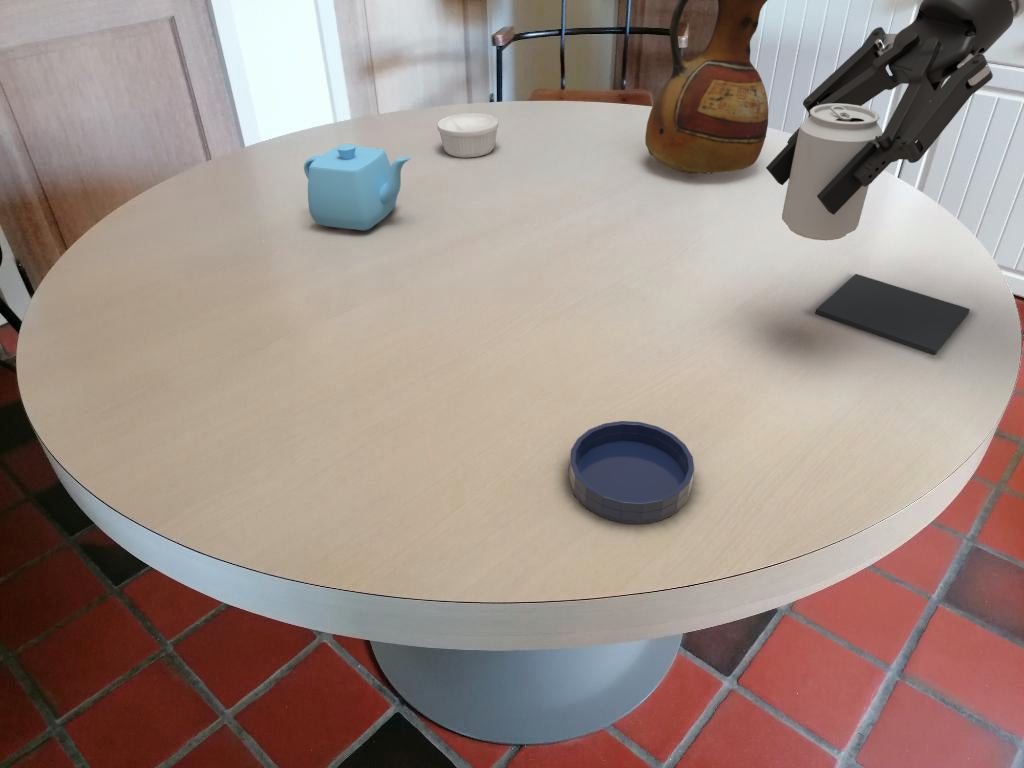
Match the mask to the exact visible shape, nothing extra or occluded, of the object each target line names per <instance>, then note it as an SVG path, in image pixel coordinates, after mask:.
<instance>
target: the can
mask: <svg viewBox="0 0 1024 768" xmlns="http://www.w3.org/2000/svg"><path fill="white" fill-rule="evenodd" d="M810 115H811V116H810V117H809V118H808V117H807V118H806V119H805V120H803V121H802V122H801V123H800V125H799V127H800V128H799V127H798V128H799V133H798V138H797V143H796V148H795V153H794V158H793V163H792V168H791V173H790V178H789V179H788V183H787V188H786V192H785V198H784V203H783V207H782V213H781V220H782V221H783V222H784V223H785V225H787V227H788V229H789V230H790V231H791V232H792V233H794V234H795V235H797V236H800V237H802V238H805V239H809V240H815V241H817V240H818V241H834V240H839V239H840V240H841V239H842V238H844V237H846V236H847V235H848V234H851V233H852V232H854V231H856V230H857V229H858V227H859V223H860V220H861V216H862V213H863V209H864V206H865V201H866V198H867V194H868V191H869V187H870V184H869V185H868V186H866V187H864V186H861V188H860V189H859V190H858V191H857V192H856V193H855V194H854V195H853V196H852V197H851V198H850V199H849V200H848V201H847V202H846V203H845V204H844V205H843V206H842V207H841V208H840V209H839V210H838V211H837V212H836V213H835V214H834V215H833V214H831V213H830V212H828V210H827V209H826V208H825V206H824V205H823V204H822V203H821V201H820V200H819V199H818V197H817V195H818V194H819V193H820V192H821V191H822V190H823V189H824V188H825V187H826V186H827V185H828V184H829V183H830V182H831V181H832V179H833V178H834V177H835V176H836V175H837V174H838V173H839V172H840V171H841V170H842V169H843V168H844V167H845V166H846V165H847V164H848V163H849V162H850V161H851V160H852V159H853V157H854V156H855V155H856V154H857V153H858V152H859V151H861V150H862V148H863V147H864V146H865V145H866V144H867V143H868V142H871V143H874V144H875V145H876V147H877V148H878V147H879V145H878V143H877V141H876V140H875V137H876V136H877V137H878V136H882V134H883V132H884V131H883V130H882V128H881V126H880V125H879V123H878V121H879V120H880V118H881V116H880V114H879V113H878V112H877V111H876V110H875V109H873V108H870V107H867V106H863V105H862V106H858V105H852V104H839V103H835V104H823V105H818V106H815V107H813V108H812V109H811V110H810ZM878 138H879V137H878ZM879 140H880V139H879Z"/></svg>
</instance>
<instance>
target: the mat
mask: <svg viewBox="0 0 1024 768" xmlns="http://www.w3.org/2000/svg"><path fill="white" fill-rule="evenodd" d="M970 311H971V308H970V307H969V308H968V307H964V306H962V305H959V304H956V303H953V302H949V301H945V300H942V299H939V298H936V297H933V296H930V295H927V294H923V293H920V292H917V291H913V290H909V289H906V288H903V287H900V286H896V285H895V284H891V283H887V282H884V281H881V280H878V279H874V278H871V277H867V276H864V275H862V274H857V273H855V274H854V275H852V276H851V278H849V279H848V280H847V281H846V282H845V283H843V285H841V286H840V287H839V288H838V289H837V290H836V291H835V292H834V293H832V294H831V295H830V296H829V297H828V298H826V300H824V301H823V302H822V303H821V304H820V305H819V306H818V307H817V308H816V309H815V312H814V314H816V315H819V316H821V317H825V318H827V319H830V320H833V321H835V322H839V323H841V324H844V325H847V326H850V327H853V328H857V329H859V330H862V331H865V332H867V333H870V334H874V335H876V336H880V337H882V338H886V339H888V340H890V341H894V342H897V343H900V344H902V345H905V346H908V347H911V348H913V349H917V350H919V351H923V352H926V353H928V354H930V355H931V354H932V355H937V353H938V352H939V350H940V349H941V348H942V346H943V345H944V344H945V343H946V342H947V340H948V339H949V338H950V337H951V335H952V334H953V333H954V332H955V331H956V329H957V328H958V327H959V326H960V324H961V323H962V322H963V321H964V320H965V318H966V317H967V316H968V314H969V313H970Z"/></svg>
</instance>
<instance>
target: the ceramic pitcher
mask: <svg viewBox="0 0 1024 768" xmlns="http://www.w3.org/2000/svg"><path fill="white" fill-rule="evenodd" d="M689 1H690V0H678V1H677V2H676V4H675V7H674V10H673V12H672V14H671V19H670V25H669V42H670V51H671V52H670V53H671V61H672V72H671V75H670V77H669V78H668V80H667V81H666V83H665V84H664V86H662V88H661V89H660V91H659V92H658V95H657V96H656V98H655V100H654V102H653V104H652V107H651V109H650V112H649V116H648V119H647V123H646V128H645V136H644V139H645V140H644V141H645V147H646V149H647V151H648V153H649V154H650V156H652V157H653V159H655V160H656V161H657V162H658V163H660V164H661V165H662V166H664V167H667V168H669V169H671V170H672V171H676V172H679V173H682V174H689V175H693V174H694V175H695V174H696V175H697V174H705V175H706V174H711V175H712V174H714V173H727V172H733V171H734V172H735V171H739V170H742V169H746V168H749V167H751V166H753V165H754V164H755V163H756V162H757V160H758V159H759V157H760V155H761V152H762V149H763V147H764V144H765V141H766V137H767V132H768V125H769V101H768V95H767V90H766V87H765V84H764V82H763V80H762V77H761V75H760V73H759V71H757V69H756V68H755V66H754V65H753V63H752V62H751V41H752V38H753V36H754V34H756V31H757V29H758V27H759V20H760V15H761V11H762V9H763V7H764V5H765V4H766V3H767V2H768V0H717V5H718V6H717V7H718V8H717V9H718V10H717V18H716V20H715V21H716V22H715V26H714V29H713V31H712V35H711V38H710V39H709V42H708V43H707V45H706V46H705V48H704V50H703V51H702V52H701V53H700V54H698V55H695V56H693V57H691V58H685V57H683V54H682V53H681V49H680V45H679V35H678V33H679V24H680V21H681V17H682V16H683V13H684V10H685V7H686V5H687V4H688V2H689Z"/></svg>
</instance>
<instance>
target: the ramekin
mask: <svg viewBox="0 0 1024 768" xmlns="http://www.w3.org/2000/svg"><path fill="white" fill-rule="evenodd" d="M498 129H499V120H498V119H497V118H496V117H495V116H493V115H490V114H485V113H476V112H475V113H473V112H471V113H470V112H469V113H468V112H467V113H458V114H453V115H452V114H451V115H449V116H446V117H444V118H442V119H440V120H439V121H438V122H437V131H438V132H439V135H440V140H441V143H442V148H443V150H444V151H445V152H446V153H447V154H448V155H450V156H452V157H456V158H464V159H465V158H467V159H468V158H477V157H482V156H486V155H488V154H490V153H491V152H492V151H493V150H494V148H495V145H496V139H497V132H498Z"/></svg>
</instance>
